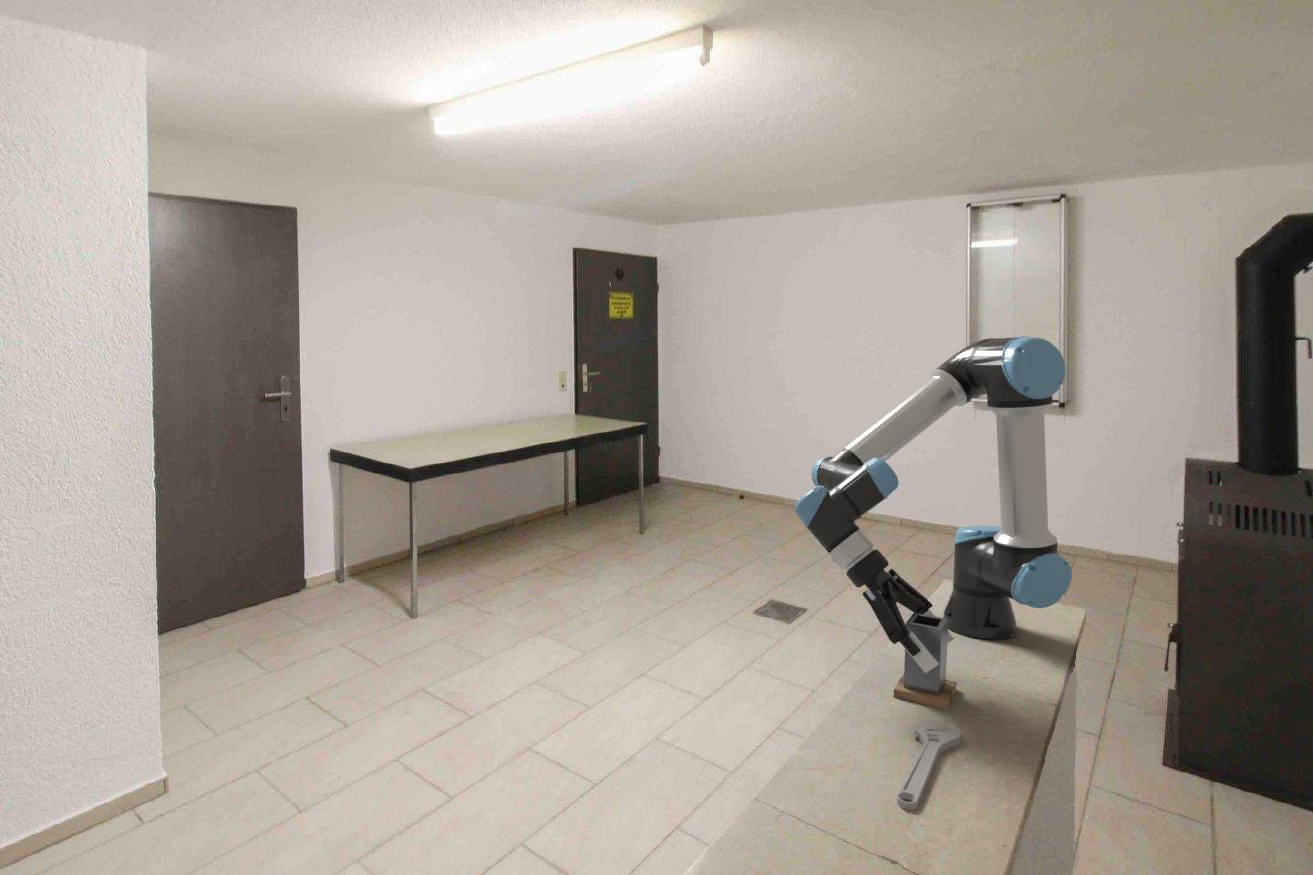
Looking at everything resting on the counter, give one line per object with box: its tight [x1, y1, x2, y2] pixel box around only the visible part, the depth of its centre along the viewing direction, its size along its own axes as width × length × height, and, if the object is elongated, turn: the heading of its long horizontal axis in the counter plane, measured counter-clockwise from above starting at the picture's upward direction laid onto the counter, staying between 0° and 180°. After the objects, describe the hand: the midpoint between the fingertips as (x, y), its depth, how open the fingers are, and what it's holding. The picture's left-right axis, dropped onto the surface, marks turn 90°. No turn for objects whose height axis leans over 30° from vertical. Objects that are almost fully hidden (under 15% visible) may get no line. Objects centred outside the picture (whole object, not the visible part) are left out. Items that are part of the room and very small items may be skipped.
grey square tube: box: [903, 612, 949, 696], centre depth 130 cm, size 6×6×12 cm
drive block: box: [893, 673, 957, 711], centre depth 130 cm, size 9×9×6 cm
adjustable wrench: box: [896, 720, 962, 811], centre depth 108 cm, size 25×6×2 cm, turn 143°
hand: (940, 655), depth 128 cm, fingers open, 13 cm apart
